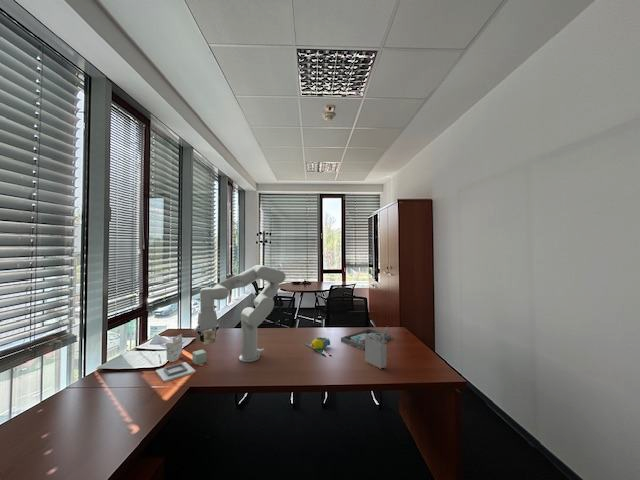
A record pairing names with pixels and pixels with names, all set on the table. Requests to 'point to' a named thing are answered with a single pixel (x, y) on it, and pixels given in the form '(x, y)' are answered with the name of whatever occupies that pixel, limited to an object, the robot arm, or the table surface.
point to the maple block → (209, 336)
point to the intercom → (361, 338)
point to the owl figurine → (319, 344)
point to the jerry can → (375, 349)
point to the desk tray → (346, 338)
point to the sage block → (199, 356)
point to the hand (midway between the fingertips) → (208, 339)
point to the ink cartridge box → (174, 349)
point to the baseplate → (175, 371)
